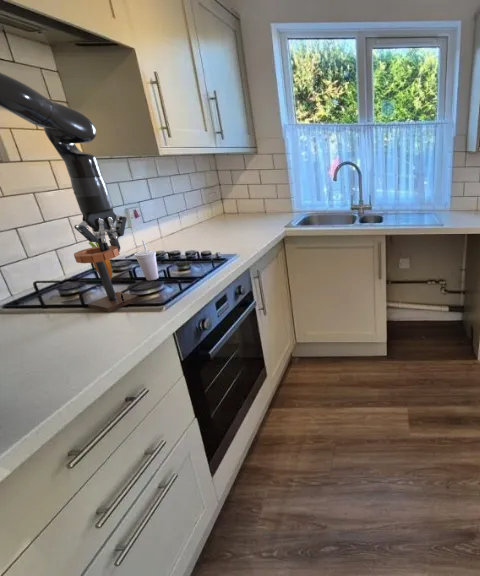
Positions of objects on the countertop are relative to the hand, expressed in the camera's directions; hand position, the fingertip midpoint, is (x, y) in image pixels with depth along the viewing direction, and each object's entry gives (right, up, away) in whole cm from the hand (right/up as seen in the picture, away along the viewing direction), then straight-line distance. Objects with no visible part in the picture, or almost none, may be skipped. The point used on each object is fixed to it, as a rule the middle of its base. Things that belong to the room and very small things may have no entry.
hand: (112, 253), depth 107 cm
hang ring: (-1, -2, -3) cm, 4 cm away
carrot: (-15, -9, +18) cm, 25 cm away
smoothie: (-2, -7, +21) cm, 23 cm away
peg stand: (-1, -15, +2) cm, 15 cm away
